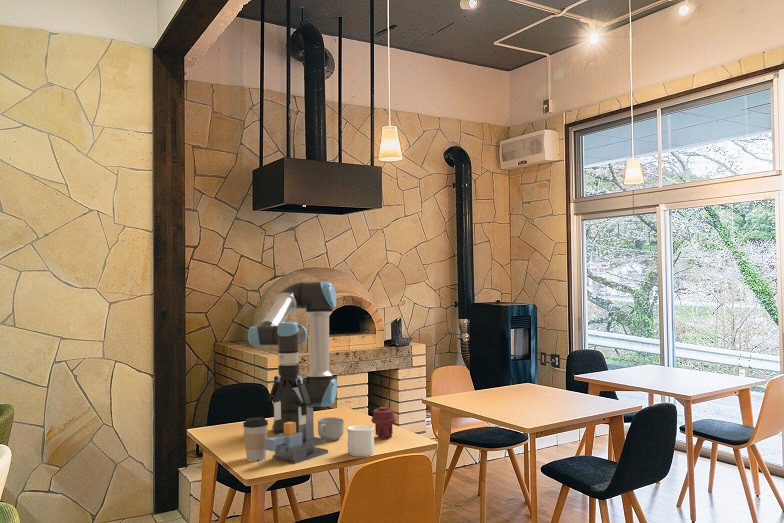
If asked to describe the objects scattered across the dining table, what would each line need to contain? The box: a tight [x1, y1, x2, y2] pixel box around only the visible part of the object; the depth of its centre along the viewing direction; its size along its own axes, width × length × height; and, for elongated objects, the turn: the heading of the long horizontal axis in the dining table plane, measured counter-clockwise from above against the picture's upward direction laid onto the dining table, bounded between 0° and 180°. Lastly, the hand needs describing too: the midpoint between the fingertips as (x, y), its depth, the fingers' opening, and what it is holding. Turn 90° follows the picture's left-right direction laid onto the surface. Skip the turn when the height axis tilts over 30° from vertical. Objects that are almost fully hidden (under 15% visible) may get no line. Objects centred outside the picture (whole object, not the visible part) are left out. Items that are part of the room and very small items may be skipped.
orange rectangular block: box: [284, 422, 296, 436], centre depth 235 cm, size 3×3×12 cm
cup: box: [346, 424, 375, 457], centre depth 240 cm, size 10×10×10 cm
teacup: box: [317, 416, 345, 442], centre depth 262 cm, size 14×11×8 cm
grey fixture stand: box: [272, 406, 329, 465], centre depth 239 cm, size 12×17×17 cm
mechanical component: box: [371, 406, 397, 440], centre depth 263 cm, size 12×10×10 cm
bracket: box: [265, 432, 302, 454], centre depth 232 cm, size 6×13×6 cm, turn 141°
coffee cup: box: [242, 416, 269, 462], centre depth 237 cm, size 9×9×15 cm
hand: (289, 421), depth 235 cm, fingers open, 13 cm apart
